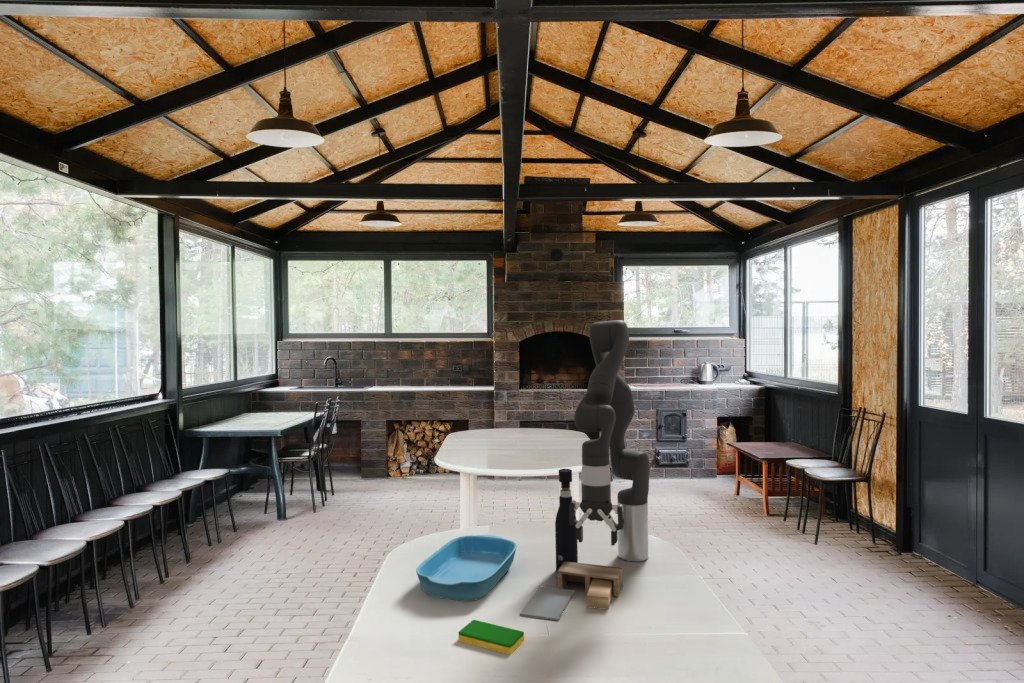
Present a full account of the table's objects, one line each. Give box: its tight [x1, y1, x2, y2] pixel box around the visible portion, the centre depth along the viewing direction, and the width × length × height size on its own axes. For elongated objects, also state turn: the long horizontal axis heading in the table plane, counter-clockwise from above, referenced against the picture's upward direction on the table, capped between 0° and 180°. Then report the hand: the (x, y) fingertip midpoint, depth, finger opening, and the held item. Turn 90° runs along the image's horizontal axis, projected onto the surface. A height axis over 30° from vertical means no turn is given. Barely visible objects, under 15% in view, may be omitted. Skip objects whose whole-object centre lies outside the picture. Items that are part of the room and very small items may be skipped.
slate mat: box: [519, 585, 575, 622], centre depth 162 cm, size 17×10×1 cm, turn 161°
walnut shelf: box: [557, 561, 624, 598], centre depth 171 cm, size 7×17×5 cm, turn 71°
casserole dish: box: [415, 534, 518, 602], centre depth 179 cm, size 37×22×7 cm, turn 161°
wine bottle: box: [554, 468, 579, 574], centre depth 183 cm, size 6×6×30 cm
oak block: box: [586, 577, 614, 610], centre depth 166 cm, size 14×6×4 cm, turn 165°
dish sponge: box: [457, 619, 525, 655], centre depth 144 cm, size 7×14×2 cm, turn 62°
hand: (596, 542), depth 162 cm, fingers open, 8 cm apart
